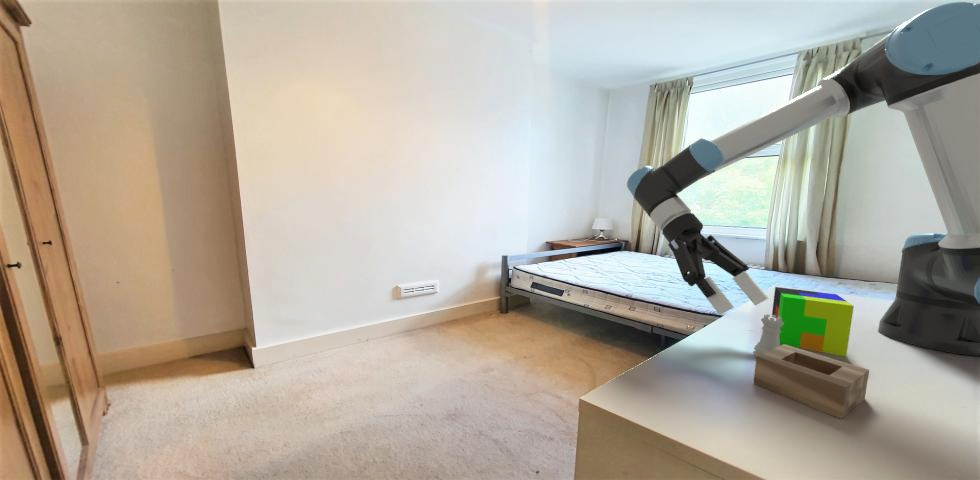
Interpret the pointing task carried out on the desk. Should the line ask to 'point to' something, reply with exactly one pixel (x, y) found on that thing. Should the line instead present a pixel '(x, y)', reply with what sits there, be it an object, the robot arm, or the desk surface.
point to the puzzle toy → (813, 320)
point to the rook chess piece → (769, 334)
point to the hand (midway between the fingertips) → (745, 306)
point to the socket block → (812, 379)
